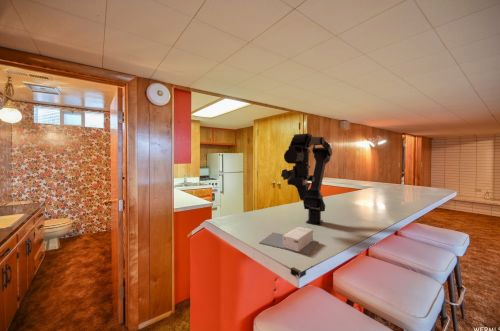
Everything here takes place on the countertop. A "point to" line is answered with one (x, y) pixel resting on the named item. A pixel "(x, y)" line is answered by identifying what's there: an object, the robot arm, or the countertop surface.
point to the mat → (277, 241)
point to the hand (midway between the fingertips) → (301, 199)
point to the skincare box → (297, 238)
